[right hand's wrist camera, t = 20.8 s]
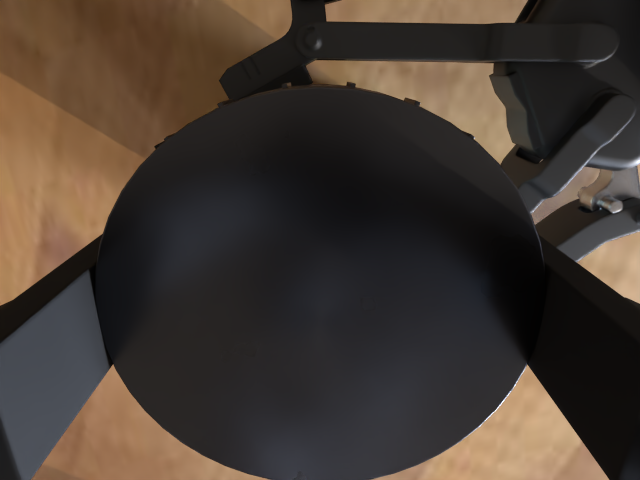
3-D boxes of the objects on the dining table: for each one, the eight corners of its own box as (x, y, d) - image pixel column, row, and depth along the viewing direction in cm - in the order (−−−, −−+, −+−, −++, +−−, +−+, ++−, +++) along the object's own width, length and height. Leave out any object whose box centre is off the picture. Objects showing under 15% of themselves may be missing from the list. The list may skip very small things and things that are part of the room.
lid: (318, -28, 9) (317, -50, 8) (593, 286, 12) (638, 320, 10) (47, 288, 12) (3, 324, 10) (321, 487, 14) (321, 540, 13)
